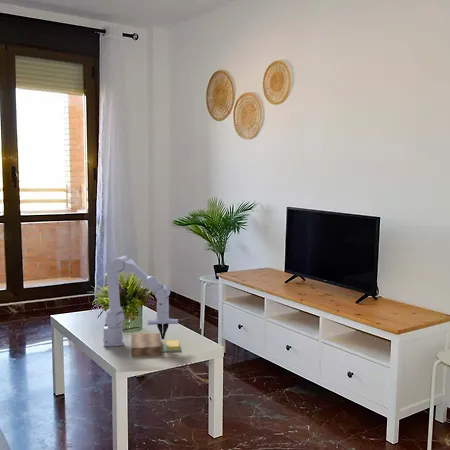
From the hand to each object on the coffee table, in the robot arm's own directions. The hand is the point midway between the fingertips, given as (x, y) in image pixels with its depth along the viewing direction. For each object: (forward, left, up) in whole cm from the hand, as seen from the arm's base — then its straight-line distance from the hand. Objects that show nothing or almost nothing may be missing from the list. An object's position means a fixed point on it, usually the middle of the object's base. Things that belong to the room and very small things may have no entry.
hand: (162, 338), depth 248 cm
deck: (-8, +1, -5) cm, 9 cm away
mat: (+4, 0, -5) cm, 6 cm away
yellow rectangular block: (+5, 0, -2) cm, 5 cm away
